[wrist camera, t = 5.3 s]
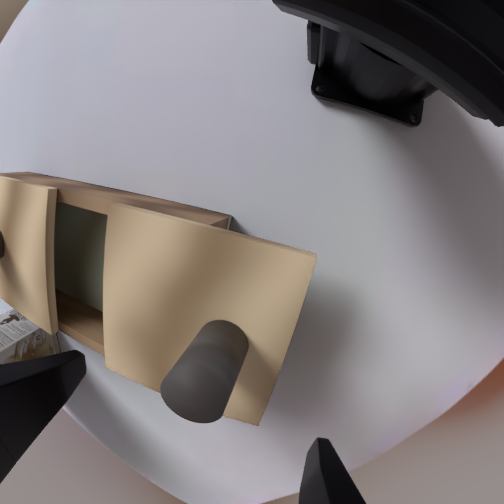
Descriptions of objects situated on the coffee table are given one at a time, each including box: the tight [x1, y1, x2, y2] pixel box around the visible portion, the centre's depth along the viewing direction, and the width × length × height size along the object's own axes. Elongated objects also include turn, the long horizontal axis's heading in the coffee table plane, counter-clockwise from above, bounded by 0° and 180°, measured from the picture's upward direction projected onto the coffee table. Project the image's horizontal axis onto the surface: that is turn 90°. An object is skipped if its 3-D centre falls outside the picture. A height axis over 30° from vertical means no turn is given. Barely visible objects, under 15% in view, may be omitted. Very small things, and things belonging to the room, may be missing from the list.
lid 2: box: [103, 203, 317, 426], centre depth 11 cm, size 10×10×5 cm
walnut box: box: [0, 172, 232, 356], centre depth 17 cm, size 20×10×4 cm, turn 77°
